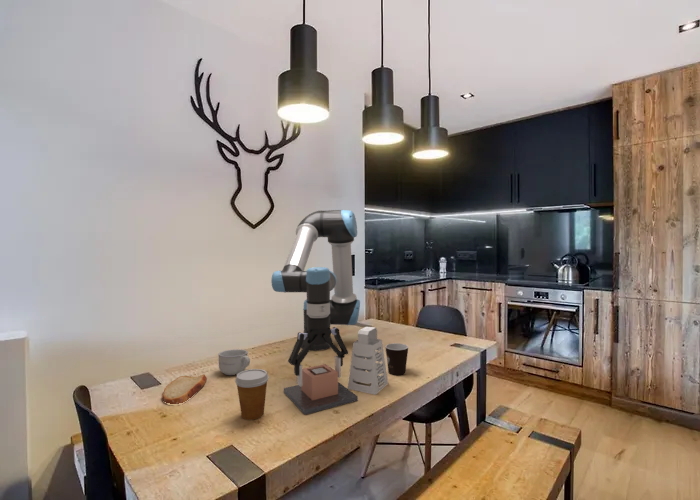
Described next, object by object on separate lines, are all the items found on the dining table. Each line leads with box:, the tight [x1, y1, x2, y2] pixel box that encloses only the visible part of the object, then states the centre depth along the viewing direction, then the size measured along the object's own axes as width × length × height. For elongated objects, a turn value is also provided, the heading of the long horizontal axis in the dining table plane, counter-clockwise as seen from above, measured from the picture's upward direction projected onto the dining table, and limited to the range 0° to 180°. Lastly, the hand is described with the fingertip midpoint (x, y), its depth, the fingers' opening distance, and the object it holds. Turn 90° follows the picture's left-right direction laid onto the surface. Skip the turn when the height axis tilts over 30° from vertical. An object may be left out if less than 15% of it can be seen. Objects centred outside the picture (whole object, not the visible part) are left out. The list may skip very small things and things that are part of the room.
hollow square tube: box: [301, 363, 339, 400], centre depth 119 cm, size 9×9×7 cm
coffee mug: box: [384, 342, 409, 377], centre depth 140 cm, size 12×9×10 cm
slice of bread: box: [161, 374, 208, 404], centre depth 125 cm, size 18×18×4 cm
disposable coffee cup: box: [234, 368, 270, 421], centre depth 107 cm, size 10×10×12 cm
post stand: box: [283, 368, 359, 416], centre depth 119 cm, size 18×18×8 cm
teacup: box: [217, 348, 251, 376], centre depth 140 cm, size 14×11×8 cm
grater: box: [347, 326, 389, 396], centre depth 127 cm, size 10×10×20 cm
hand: (319, 380), depth 119 cm, fingers open, 13 cm apart
